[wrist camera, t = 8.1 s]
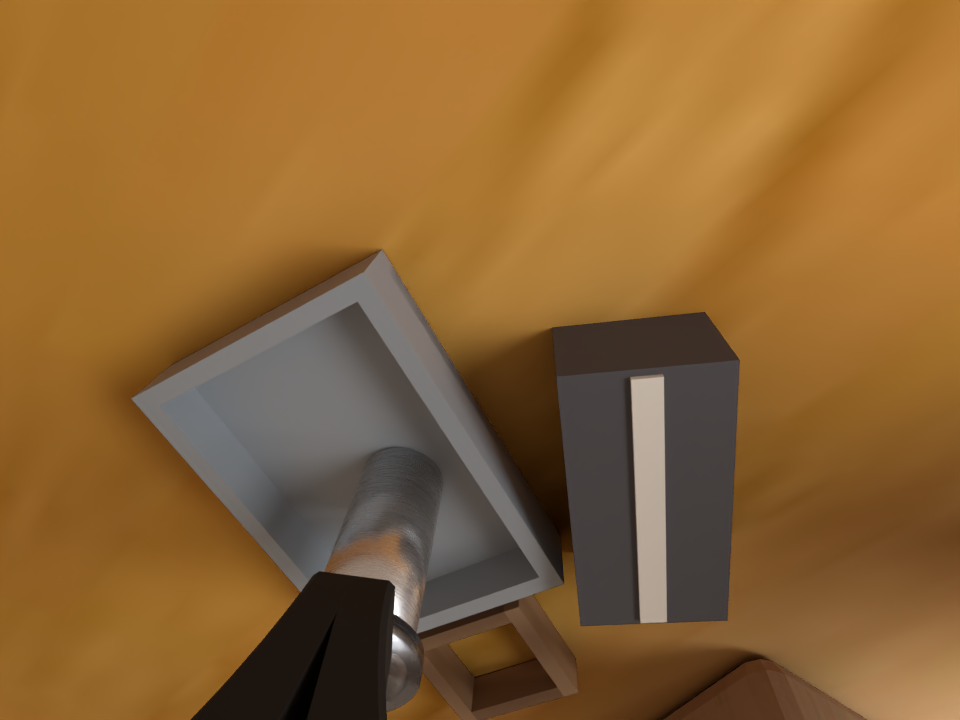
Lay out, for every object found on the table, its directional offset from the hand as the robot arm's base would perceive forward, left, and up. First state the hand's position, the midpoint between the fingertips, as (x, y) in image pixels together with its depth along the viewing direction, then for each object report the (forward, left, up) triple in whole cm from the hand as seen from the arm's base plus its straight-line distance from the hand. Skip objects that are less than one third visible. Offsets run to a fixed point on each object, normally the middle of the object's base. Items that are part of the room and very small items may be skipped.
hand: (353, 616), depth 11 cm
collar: (-11, +4, -10) cm, 15 cm away
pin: (-3, +3, -9) cm, 10 cm away
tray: (-2, +4, -10) cm, 10 cm away
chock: (-5, -4, -10) cm, 12 cm away
